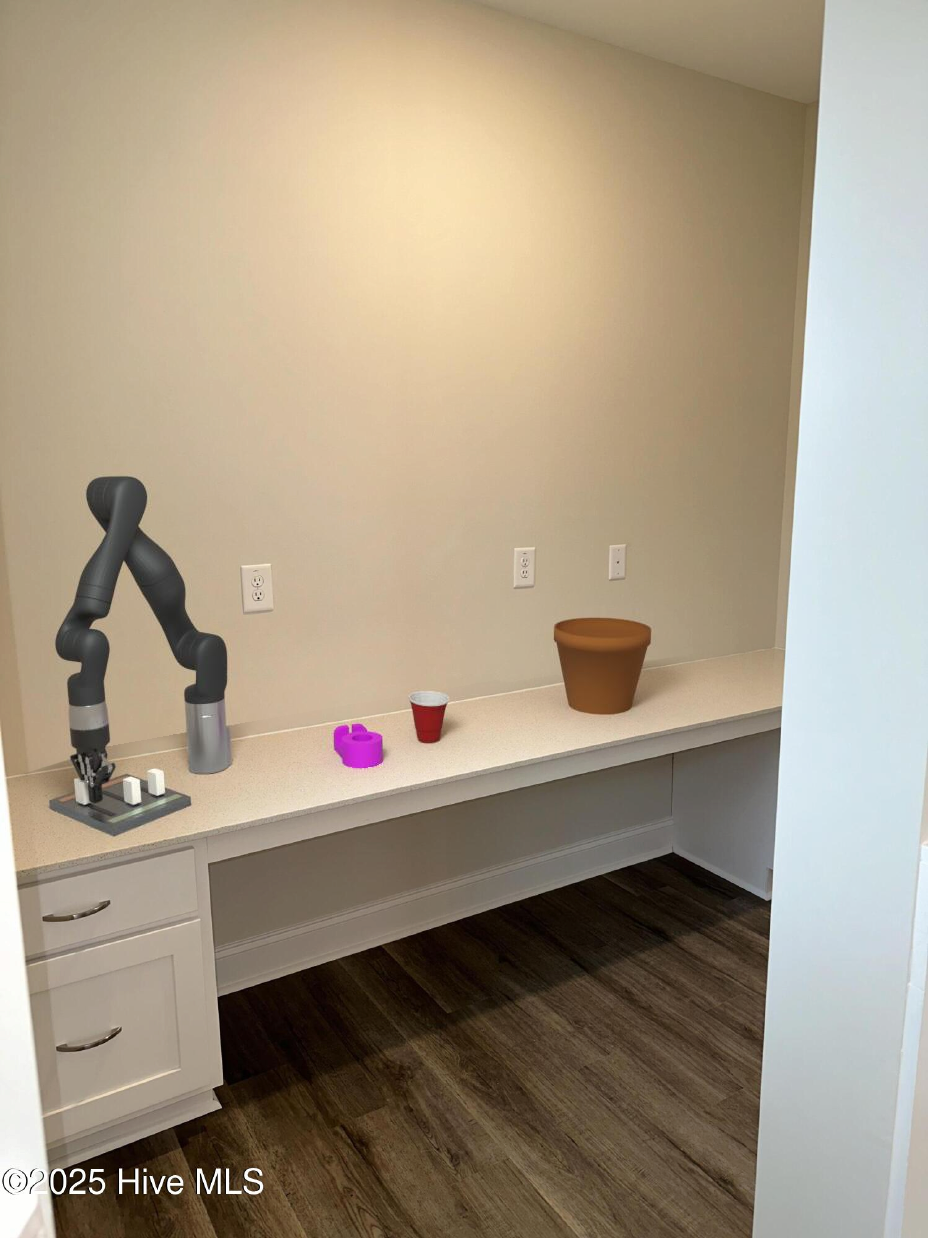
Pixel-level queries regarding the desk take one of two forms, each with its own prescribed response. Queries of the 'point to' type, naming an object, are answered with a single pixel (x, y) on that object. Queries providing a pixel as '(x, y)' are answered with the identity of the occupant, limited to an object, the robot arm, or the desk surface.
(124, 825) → the switch panel
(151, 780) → the switch
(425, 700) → the plastic cup
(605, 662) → the flowerpot
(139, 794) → the switch middle
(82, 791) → the switch
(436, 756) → the desk surface
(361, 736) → the tape dispenser
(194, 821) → the desk surface
